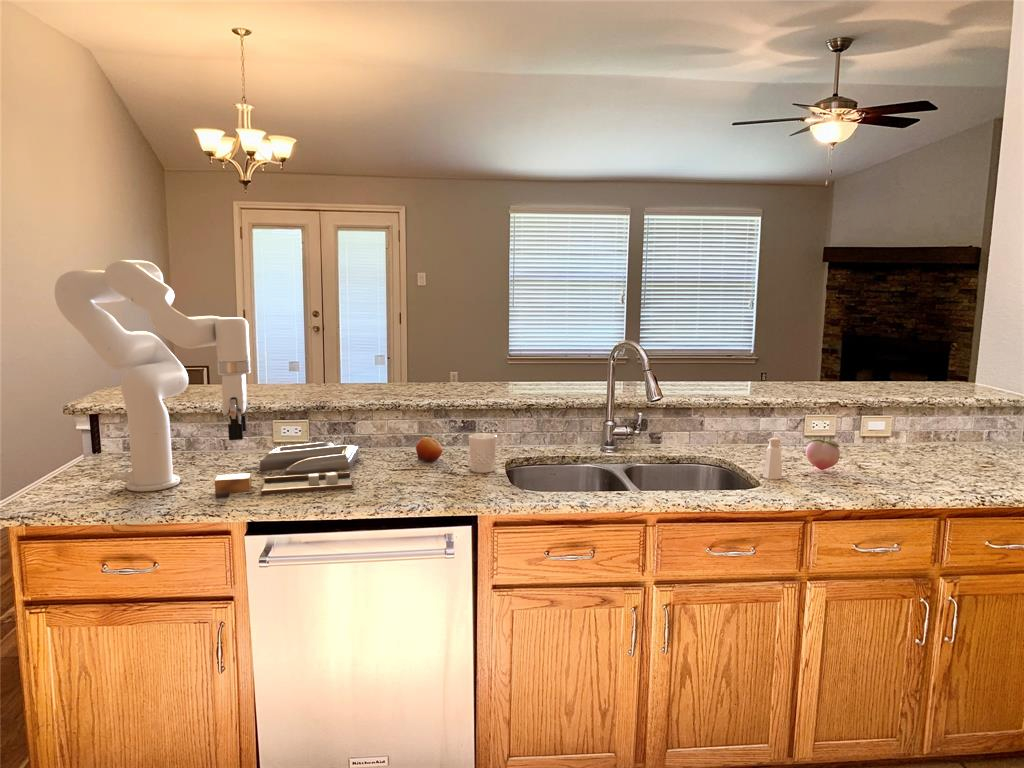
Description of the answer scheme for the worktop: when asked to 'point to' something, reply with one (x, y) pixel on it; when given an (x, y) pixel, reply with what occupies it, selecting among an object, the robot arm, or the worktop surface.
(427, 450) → the fruit
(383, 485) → the worktop surface
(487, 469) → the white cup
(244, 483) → the eraser
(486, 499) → the worktop surface
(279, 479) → the slate tray
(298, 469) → the emblem
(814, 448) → the decorative fruit
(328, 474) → the chalk lump
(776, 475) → the pepper shaker
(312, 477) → the chalk lump
